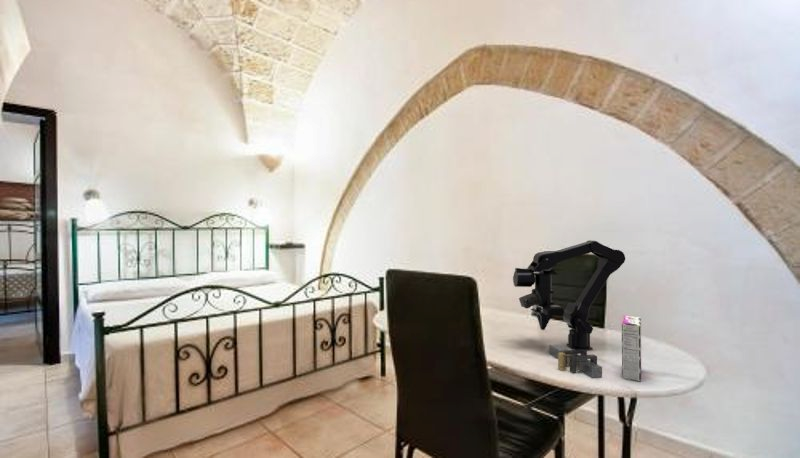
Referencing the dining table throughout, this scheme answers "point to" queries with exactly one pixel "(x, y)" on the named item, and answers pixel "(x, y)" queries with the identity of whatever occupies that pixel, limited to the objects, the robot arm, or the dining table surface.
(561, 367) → the sight post
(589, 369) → the long grey bar
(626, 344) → the candy bar box
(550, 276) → the robot arm
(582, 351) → the grey arch block
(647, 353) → the dining table surface
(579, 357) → the dark grey arch
